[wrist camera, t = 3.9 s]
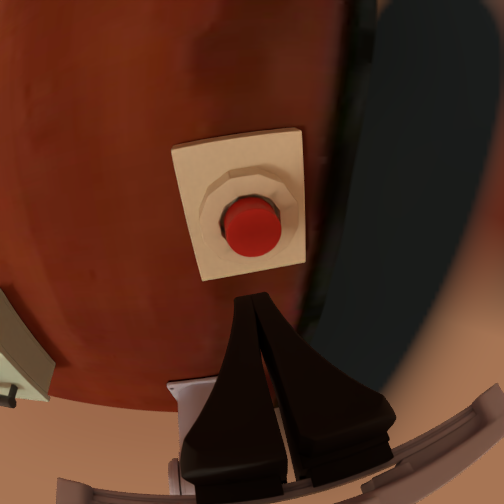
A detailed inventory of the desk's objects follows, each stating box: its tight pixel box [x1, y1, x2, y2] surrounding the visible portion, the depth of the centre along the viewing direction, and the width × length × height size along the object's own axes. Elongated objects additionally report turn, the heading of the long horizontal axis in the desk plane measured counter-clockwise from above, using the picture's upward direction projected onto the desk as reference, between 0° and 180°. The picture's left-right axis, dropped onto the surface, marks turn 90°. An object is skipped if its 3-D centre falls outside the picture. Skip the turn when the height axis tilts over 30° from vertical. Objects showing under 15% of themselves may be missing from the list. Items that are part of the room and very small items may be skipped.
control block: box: [171, 127, 306, 281], centre depth 19 cm, size 10×8×3 cm
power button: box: [224, 197, 282, 257], centre depth 17 cm, size 3×3×2 cm
